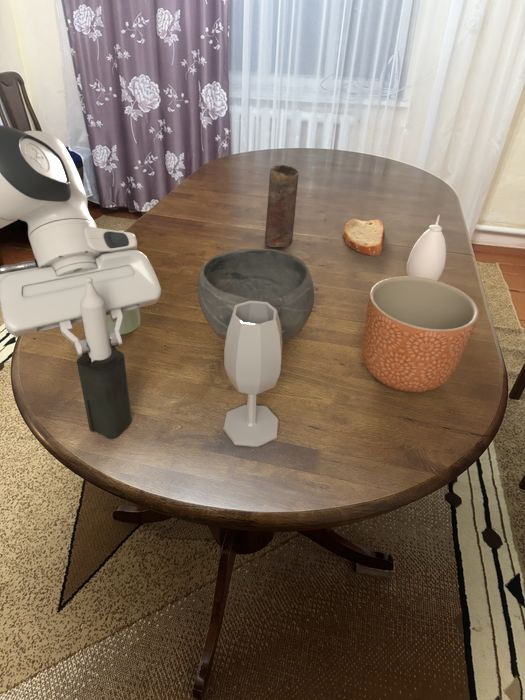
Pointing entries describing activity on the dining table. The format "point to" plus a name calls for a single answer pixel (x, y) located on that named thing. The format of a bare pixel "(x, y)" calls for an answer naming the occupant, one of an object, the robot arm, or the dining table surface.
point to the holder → (126, 321)
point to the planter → (416, 332)
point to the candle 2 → (281, 206)
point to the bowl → (256, 287)
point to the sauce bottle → (428, 254)
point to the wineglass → (252, 370)
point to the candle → (102, 371)
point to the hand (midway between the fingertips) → (100, 349)
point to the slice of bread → (365, 236)
